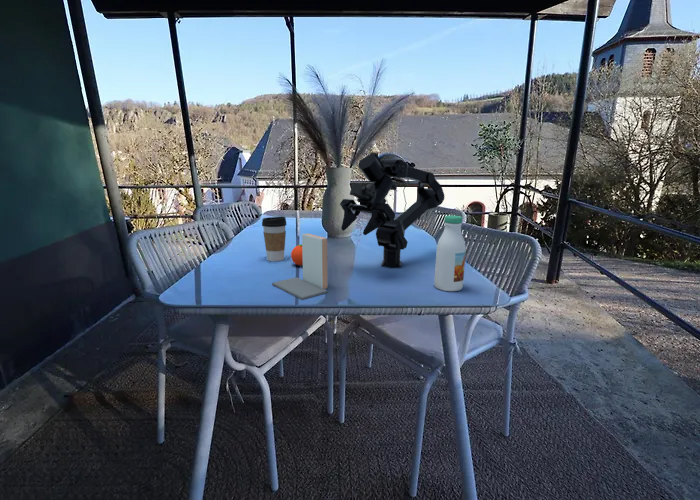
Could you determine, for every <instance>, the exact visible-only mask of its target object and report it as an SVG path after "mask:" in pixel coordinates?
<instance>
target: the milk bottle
mask: <svg viewBox="0 0 700 500" xmlns="http://www.w3.org/2000/svg"><path fill="white" fill-rule="evenodd" d="M443 221H444V223H443V225H444V228H443V229H444V230H443V232H442V233H441V236H440V238H438V242H437V246H436V256H435V265H434V266H435V267H434V268H435V269H434V281H433V282H434V287H435V288H436V289H438V290H441V291H446V292H457V291H461V290H462V289H463V287H464V278H465V277H464V276H465V267H466V266H465V265H466V253H467V252H466V249H467V247H466V242H465V238H464V236H463V232H462V225H463V216H460V215H445V216H444V220H443Z"/></svg>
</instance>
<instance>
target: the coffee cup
mask: <svg viewBox="0 0 700 500" xmlns="http://www.w3.org/2000/svg"><path fill="white" fill-rule="evenodd" d="M286 220H287V219H286V216H271V217H270V216H269V217H264V218H262V222H261V226H262V227H263V238H264V244H265V253H266V259H267V261H269V262H281V261H284V259H285V251H286V249H285V248H286V237H287V236H286V235H287V234H286V233H287V231H286V226H287V221H286Z"/></svg>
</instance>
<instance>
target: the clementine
mask: <svg viewBox="0 0 700 500" xmlns="http://www.w3.org/2000/svg"><path fill="white" fill-rule="evenodd" d="M290 257H291V261H292V262H293V263H294V264H295V265H297V266H302V267H303V256H302V244H298V245H296V246H295V247H293V249H292V250H291V252H290Z"/></svg>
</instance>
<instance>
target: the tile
mask: <svg viewBox="0 0 700 500" xmlns="http://www.w3.org/2000/svg"><path fill="white" fill-rule="evenodd" d="M301 243H302V244H301V245H302V256H303V266H302V280H304V281H306V282H309V283H311V284H313V285H315V286H318V287H320V288H322V289H325V290H327V289H328V238H327V237H323V236H320V235H315V234H311V233H308V232H307V233H302V234H301Z"/></svg>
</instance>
